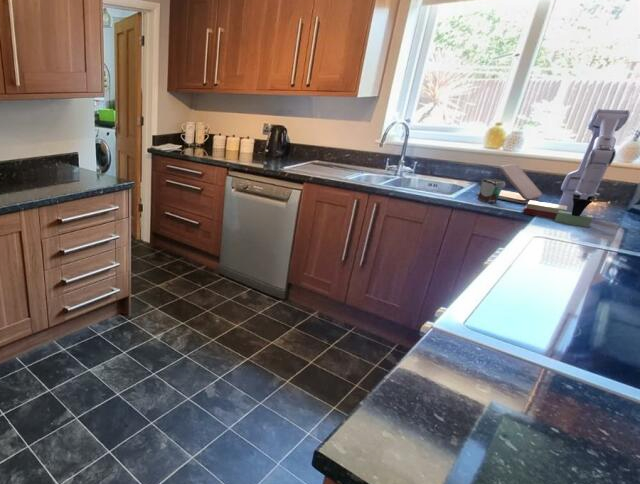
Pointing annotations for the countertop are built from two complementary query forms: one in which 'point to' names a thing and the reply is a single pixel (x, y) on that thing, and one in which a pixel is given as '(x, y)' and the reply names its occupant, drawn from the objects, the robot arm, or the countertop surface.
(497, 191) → the food container
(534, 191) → the case
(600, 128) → the robot arm
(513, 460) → the countertop surface
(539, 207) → the book stack
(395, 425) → the countertop surface
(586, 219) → the green block
